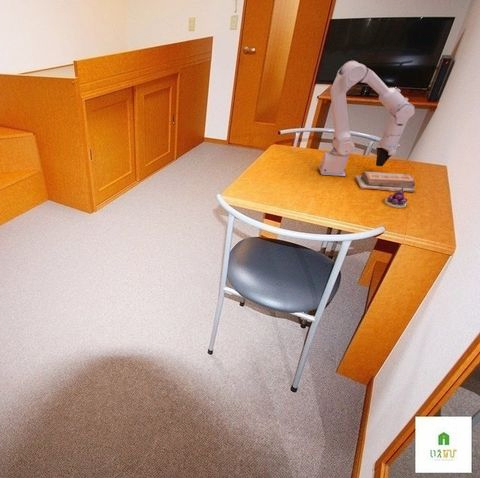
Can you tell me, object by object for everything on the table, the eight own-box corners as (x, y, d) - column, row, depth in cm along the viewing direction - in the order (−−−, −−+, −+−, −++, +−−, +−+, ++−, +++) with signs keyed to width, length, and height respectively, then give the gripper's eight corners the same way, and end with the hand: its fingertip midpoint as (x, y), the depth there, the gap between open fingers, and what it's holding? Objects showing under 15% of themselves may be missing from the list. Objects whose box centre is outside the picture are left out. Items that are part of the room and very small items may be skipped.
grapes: (387, 206, 117) (395, 190, 113) (382, 198, 121) (389, 182, 118) (408, 208, 115) (417, 192, 111) (402, 200, 119) (410, 184, 116)
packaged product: (410, 171, 128) (420, 181, 121) (404, 182, 131) (414, 193, 123) (358, 168, 133) (364, 178, 126) (354, 178, 136) (360, 189, 129)
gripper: (411, 139, 122) (395, 173, 129) (398, 128, 133) (385, 159, 140) (388, 139, 124) (375, 171, 132) (378, 128, 135) (366, 158, 143)
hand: (379, 165), depth 136 cm, fingers closed
